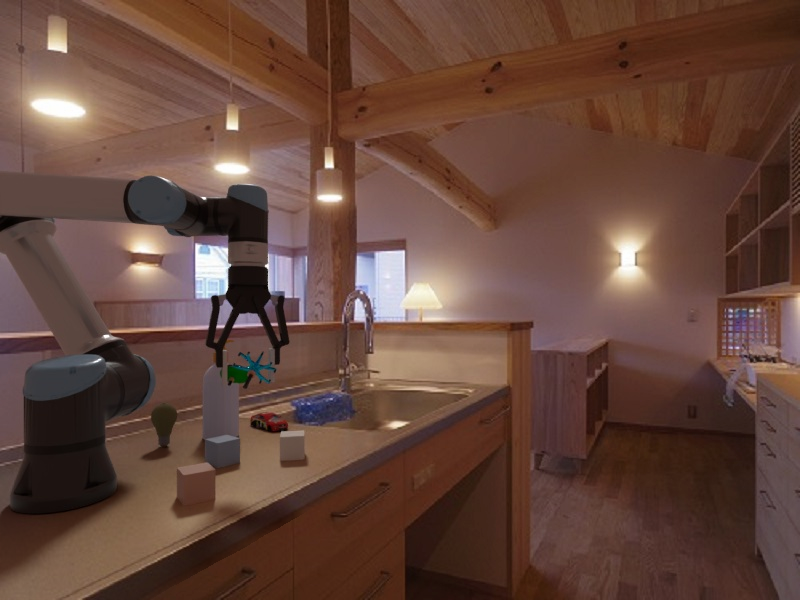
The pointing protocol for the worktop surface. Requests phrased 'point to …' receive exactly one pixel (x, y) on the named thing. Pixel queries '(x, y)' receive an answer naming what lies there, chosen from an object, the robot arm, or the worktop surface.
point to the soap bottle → (219, 404)
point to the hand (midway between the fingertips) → (248, 383)
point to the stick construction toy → (247, 371)
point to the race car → (268, 421)
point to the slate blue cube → (222, 451)
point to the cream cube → (292, 445)
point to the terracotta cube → (195, 483)
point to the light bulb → (164, 422)
